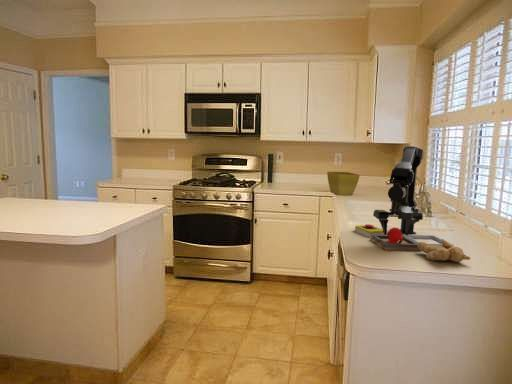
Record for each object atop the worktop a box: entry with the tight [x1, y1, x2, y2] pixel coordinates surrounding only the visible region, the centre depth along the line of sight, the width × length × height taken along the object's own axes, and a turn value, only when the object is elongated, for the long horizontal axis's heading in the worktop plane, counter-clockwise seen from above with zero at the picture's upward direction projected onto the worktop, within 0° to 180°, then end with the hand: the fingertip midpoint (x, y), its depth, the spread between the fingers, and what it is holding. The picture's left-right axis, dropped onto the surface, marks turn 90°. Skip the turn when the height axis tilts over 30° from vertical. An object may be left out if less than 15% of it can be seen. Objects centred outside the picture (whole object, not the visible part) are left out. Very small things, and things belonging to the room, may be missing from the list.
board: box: [369, 234, 422, 252], centre depth 155 cm, size 15×15×2 cm
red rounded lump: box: [386, 227, 403, 244], centre depth 154 cm, size 8×6×6 cm
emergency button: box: [352, 223, 384, 238], centre depth 172 cm, size 9×4×15 cm
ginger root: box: [418, 238, 471, 263], centre depth 138 cm, size 16×16×8 cm
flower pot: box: [326, 171, 361, 196], centre depth 297 cm, size 19×19×17 cm
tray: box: [402, 234, 455, 247], centre depth 162 cm, size 15×15×2 cm
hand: (395, 235), depth 154 cm, fingers open, 9 cm apart
